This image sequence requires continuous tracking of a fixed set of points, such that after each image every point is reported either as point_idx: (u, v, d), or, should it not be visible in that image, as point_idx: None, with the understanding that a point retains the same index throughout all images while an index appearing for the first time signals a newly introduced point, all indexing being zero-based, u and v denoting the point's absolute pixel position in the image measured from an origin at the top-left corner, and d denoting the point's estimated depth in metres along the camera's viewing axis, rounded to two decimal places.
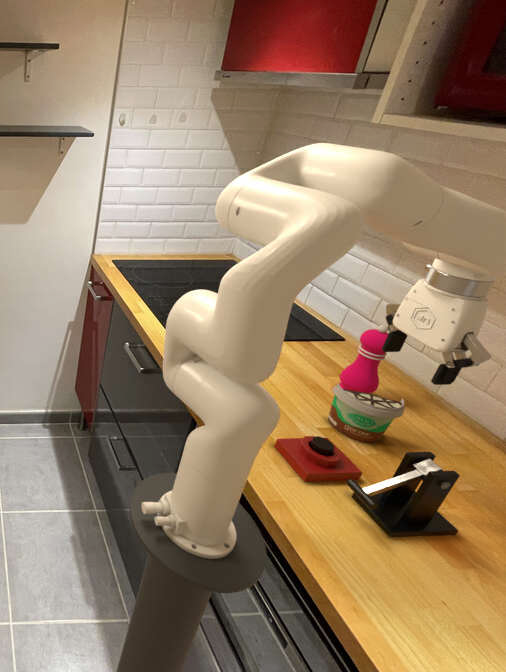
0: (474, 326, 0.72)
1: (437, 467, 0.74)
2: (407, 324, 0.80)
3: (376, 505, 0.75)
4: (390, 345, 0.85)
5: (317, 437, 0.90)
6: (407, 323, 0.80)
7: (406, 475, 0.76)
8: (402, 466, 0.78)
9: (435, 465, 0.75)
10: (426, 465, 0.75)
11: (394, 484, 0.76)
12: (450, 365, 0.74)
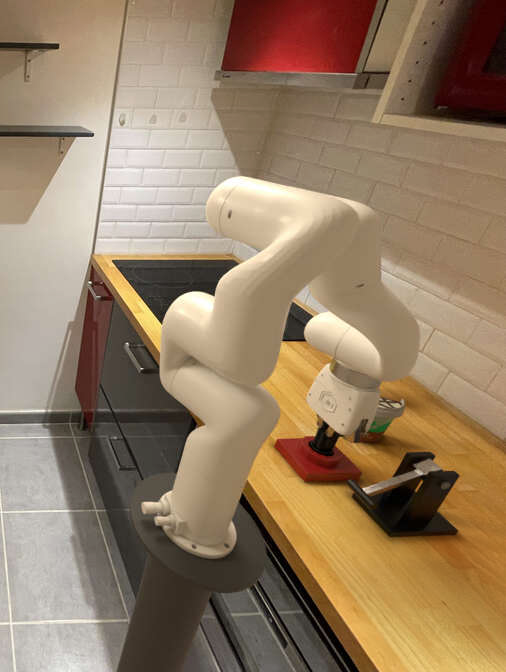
0: (368, 414, 0.79)
1: (437, 467, 0.74)
2: (316, 404, 0.87)
3: (376, 505, 0.75)
4: None
5: None
6: (316, 403, 0.87)
7: (406, 475, 0.76)
8: (402, 466, 0.78)
9: (435, 465, 0.75)
10: (426, 465, 0.75)
11: (394, 484, 0.76)
12: (329, 434, 0.86)
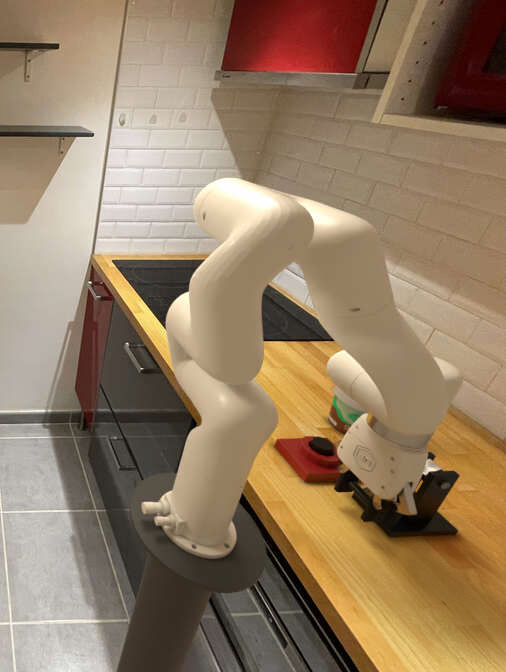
0: (414, 477, 0.69)
1: (437, 467, 0.74)
2: (350, 459, 0.76)
3: None
4: (342, 486, 0.80)
5: (317, 437, 0.90)
6: (350, 458, 0.76)
7: None
8: None
9: (435, 465, 0.75)
10: (426, 465, 0.75)
11: None
12: (377, 506, 0.73)
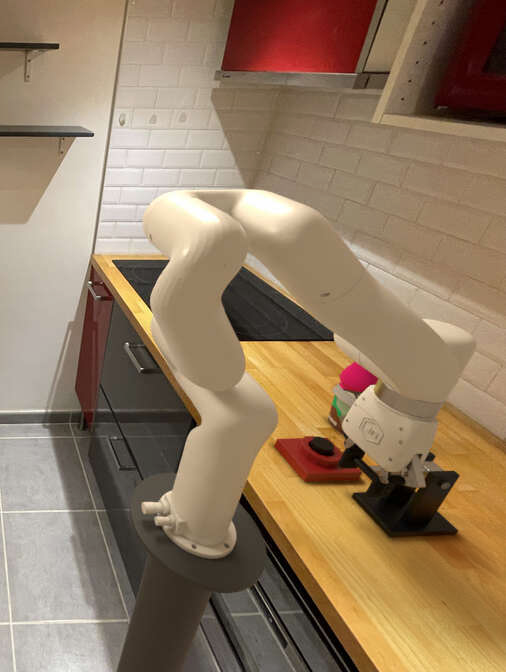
0: (423, 448, 0.66)
1: (440, 468, 0.75)
2: (355, 433, 0.74)
3: None
4: (347, 462, 0.77)
5: (317, 437, 0.90)
6: (355, 432, 0.74)
7: None
8: None
9: (438, 467, 0.75)
10: (430, 464, 0.75)
11: None
12: (384, 480, 0.70)
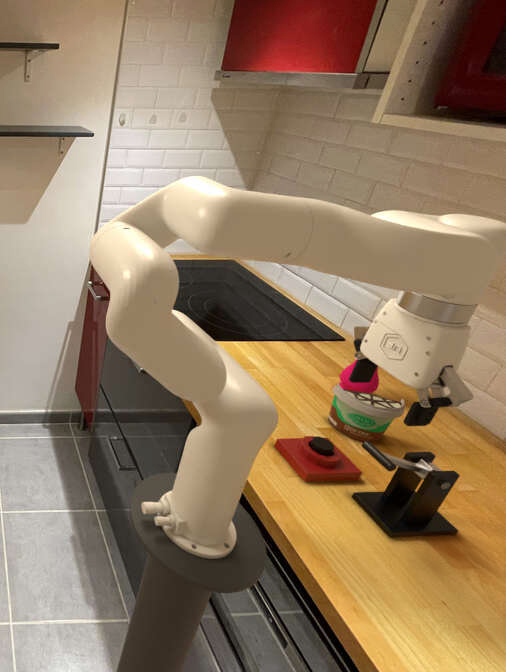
0: (453, 358, 0.59)
1: (441, 470, 0.75)
2: (376, 352, 0.67)
3: (394, 468, 0.71)
4: (358, 375, 0.72)
5: (317, 437, 0.90)
6: (376, 351, 0.67)
7: (414, 463, 0.75)
8: None
9: (439, 468, 0.75)
10: (432, 465, 0.75)
11: (406, 463, 0.74)
12: (425, 404, 0.61)
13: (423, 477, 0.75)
